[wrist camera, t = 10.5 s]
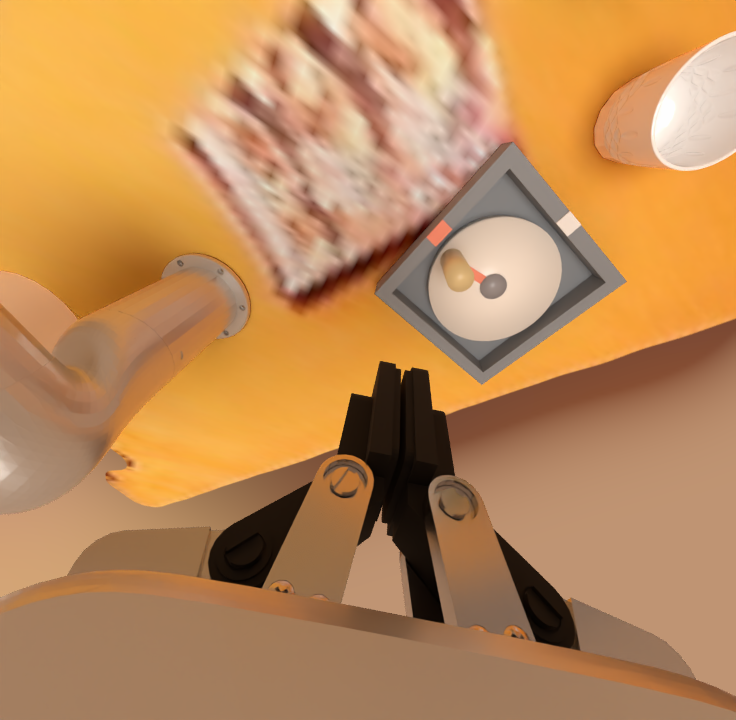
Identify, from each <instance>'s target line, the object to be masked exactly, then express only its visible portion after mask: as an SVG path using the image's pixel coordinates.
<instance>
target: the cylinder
mask: <svg viewBox="0 0 736 720" xmlns="http://www.w3.org/2000/svg"><path fill="white" fill-rule="evenodd" d="M0 303H1V304H2V305H3V306H4V307H5V308H6V309H7V310H8V311H9V312H10V313H11V314H12V315H13V316H14V317H15V318H16V319H17V320H18V321H19V322H20V323H21V324H22V325H23V326H24V327H25V328H26V329H27V330H28V331H29V332H30V333H31V334H32V335H33V336H34V337H35V338H36V339H37V340H38V341H39V342H40V343H41V344H42V345H43V346H44V348H45V349H46V350H47V351H48V352H49V353H50V354H51V353H52V351H53V348H54V347H55V345H56V343H57V341H58V339H59V338H60V336H61V335H62V334H63V333H64V332H65V331H66V329H67V328H68V327H69V326H71V325H72V324H73V323H74V322H76V321H77V318H76V316H75V315H74V314H73V313H72V312H71V310H70V309H69V308H68V307H67V306H66V305H65V304H64V302H62V301H61V300H60V299H59V298H58V297H56V296H55V295H54V294H53V293H52V292H51V291H49V290H48V289H46V288H45V287H43V286H41V285H40V284H38V283H37V282H35V281H33V280H31V279H28V278H26V277H24V276H22V275H19V274H16V273H11V272H6V271H0Z"/></svg>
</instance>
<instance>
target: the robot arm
mask: <svg viewBox="0 0 736 720" xmlns="http://www.w3.org/2000/svg"><path fill="white" fill-rule="evenodd" d="M250 309H251V308H250V300H249V296H248V293H247V290H246V288H245V286H244V284H243V283H242V281H241V280H240V278H239V277H238V276H237V275H236V274H235V273H234V272H233V271H232V270H231V269H230V268H229V267H228V266H226V265H225V264H224V263H222V262H220V261H219V260H217V259H215V258H212V257H210V256H207V255H203V254H186V255H182V256H179V257H177V258H175V259H173V260H172V261H171V262H169V263H168V265H167V266H166V267H165V269H164V271H163V273H162V277H161V280H159V281H157V282H155V283H153V284H151V285H149V286H147V287H145V288H143V289H140V290H138V291H136V292H134V293H132V294H130V295H128V296H126V297H124V298H122V299H120V300H118V301H115V302H113V303H111V304H109V305H107V306H105V307H103V308H101V309H99V310H97V311H95V312H93V313H90V314H88V315H86V316H84V317H82V318H81V319H79V320H77V321H76V322H74V323H73V324H72V325H71V326H69V327H68V328H67V329H66V331H65V332H64V333H63V334H62V335H61V336H60V338H59V339H58V341H57V343H56V345H55V347H54V348H53V351H52V353H51V354H50V353H49V352H48V351H47V350H46V349H45V348H44V346H43V345H42V344H41V343H40V342H39V341H38V340H37V339H36V338H35V337H34V336H33V335H32V334H31V333H30V332H29V331H28V330H27V329H26V328H25V327H24V326H23V325H22V324H21V323H20V322H19V321H18V320H17V319H16V318H15V317H14V316H13V315H12V314H11V313H10V312H9V311H8V310H7V309H6V308H5V307H4V306H3V305H2V304H1V303H0V515H1V514H15V513H22V512H27V511H30V510H34V509H37V508H39V507H42V506H44V505H47V504H49V503H51V502H53V501H55V500H57V499H58V498H60V497H62V496H63V495H65V494H66V493H68V492H69V491H70V490H72V489H73V488H74V487H75V486H77V485H78V484H79V483H80V482H81V481H82V480H83V479H84V478H85V477H86V476H87V475H88V474H89V473H90V472H91V471H92V470H93V469H94V468H95V467H96V466H97V465H98V464H99V462H100V461H101V460H102V458H103V457H104V456H105V455H106V453H107V452H108V451H109V449H110V448H111V446H112V445H113V443H114V442H115V441H116V439H117V438H118V436H119V435H120V434H121V432H122V431H123V430H124V428H125V427H126V426H127V424H128V423H129V422H130V421H131V419H132V418H133V417H134V416H135V415H136V414H137V413H138V412H139V410H140V409H141V408H142V407H143V406H144V405H145V404H146V403H147V402H148V401H149V400H150V399H151V398H152V397H153V396H154V395H155V394H156V393H157V392H158V391H160V390H161V389H162V388H163V387H164V386H165V385H166V384H167V383H168V382H169V381H170V380H171V379H173V378H174V377H175V376H176V375H177V374H178V373H179V372H180V371H181V370H182V369H183V368H184V367H185V366H187V365H188V364H189V363H190V362H191V361H192V360H193V359H194V358H195V357H196V356H197V355H198V354H199V353H201V352H202V351H203V350H204V349H205V348H206V347H207V346H208V345H209V344H210V343H211V342H212V341H213V340H215V339H222V338H228V337H231V336H233V335H235V334H237V333H238V332H239V331H240V330H241V329H242V328H243V327H244V326H245V325H246V323H247V321H248V319H249V316H250ZM381 508H382V523H387V524H388V526H387V535H389V536H393V539H392V541H393V542H394V543H395V545H396V546H397V547H398V549H399V550H400V568H401V577H402V585H403V594H404V601H405V610H406V616H402V615H397V614H392V613H386V612H381V611H376V610H371V609H366V608H361V607H356V606H350V605H345V604H341V602H342V598H343V594H344V590H345V587H346V584H347V580H348V576H349V572H350V569H351V565H352V562H353V558H354V555H355V551H356V547H357V546H358V545H359V544H361V543H362V542H363V541H365V540H366V539H367V538H369V537H370V535H371V533H372V529H373V527H374V524H375V521H377V519H378V517H379V514H380V511H381ZM0 720H736V696H734V695H732V694H730V693H728V692H725V691H723V690H721V689H719V688H717V687H714V686H712V685H709V684H706V683H704V682H701V681H699V680H696V678H695V677H694V675H693V673H692V671H691V669H690V668H689V666H688V665H687V664H686V662H685V661H684V660H683V659H682V657H681V656H680V655H679V654H678V653H677V652H676V651H675V650H674V649H673V648H672V647H671V646H670V645H669V644H668V643H667V642H665V641H663V640H662V639H660V638H658V637H657V636H655V635H654V634H652V633H649V632H647V631H644V630H642V629H640V628H638V627H636V626H633V625H631V624H629V623H627V622H624V621H622V620H620V619H617V618H616V617H613V616H611V615H609V614H607V613H604V612H602V611H600V610H598V609H595V608H593V607H591V606H589V605H586V604H584V603H582V602H580V601H577V600H575V599H573V598H570V599H568V600H565V599H563V598H562V597H561V596H560V595H559V593H558V592H557V591H556V590H555V589H554V588H553V587H552V586H551V585H550V584H549V583H548V582H547V581H546V580H545V579H544V578H543V577H542V576H541V575H540V574H539V573H538V572H537V571H536V570H535V569H534V568H533V567H532V566H531V565H530V564H529V563H528V562H527V561H526V560H525V559H524V558H523V557H522V556H521V555H520V554H519V553H518V552H517V551H515V549H513V548H512V547H511V546H510V545H509V544H508V543H507V542H506V541H505V540H504V539H503V538H502V537H501V536H500V535H499V534H498V533H497V532H496V531H495V530H494V529H493V526H492V524H491V521H490V518H489V516H488V513H487V511H486V508H485V505H484V503H483V501H482V498H481V497H480V495H479V493H478V492H477V491H476V489H475V488H474V487H473V486H472V485H470V484H469V483H468V482H466V481H465V480H463V479H461V478H458V477H456V476H455V473H454V466H453V461H452V454H451V448H450V441H449V435H448V429H447V423H446V416H445V413H444V412H442V411H437V410H432V401H431V392H430V383H429V373H428V371H427V370H423V369H418V368H413V367H412V368H411V371H407V370H405V372H404V375H403V379H402V382H401V369H397V368H396V364H393V363H388V362H383V361H380V364H379V368H378V372H377V376H376V381H375V385H374V389H373V393H372V397H368V396H363V395H358V394H353V393H352V394H351V398H350V402H349V407H348V411H347V415H346V420H345V424H344V428H343V432H342V437H341V441H340V445H339V450H338V454H337V455H336V456H333V457H330V458H329V459H327V460H326V461H325V462H324V463H323V464H322V465H321V466H320V468H319V469H318V472H317V474H316V476H315V478H314V480H313V481H312V482H310V483H308V484H307V485H305V486H303V487H301V488H299V489H297V490H295V491H293V492H292V493H290V494H288V495H286V496H284V497H282V498H281V499H279V500H277V501H275V502H273V503H271V504H269V505H268V506H266V507H264V508H262V509H260V510H258V511H257V512H255V513H253V514H251V515H250V516H247V517H245V518H244V519H242V520H240V521H238V522H236V523H234V524H233V525H231V526H230V527H228V528H227V529H226V530H211V528H210V527H191V528H169V529H147V530H126V531H120V532H115V533H110V534H108V535H106V536H104V537H102V538H100V539H98V540H96V541H95V542H94V543H93V544H91V545H90V546H89V547H88V548H86V549H85V550H84V551H83V552H82V554H81V555H80V556H79V557H78V559H77V560H76V561H75V563H74V564H73V566H72V568H71V570H70V571H69V573H68V575H67V576H64V577H60V578H57V579H53V580H49V581H45V582H41V583H38V584H35V585H32V586H29V587H26V588H23V589H20V590H17V591H14V592H12V593H10V594H8V595H5V596H3V597H0Z"/></svg>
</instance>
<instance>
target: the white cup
mask: <svg viewBox="0 0 736 720" xmlns="http://www.w3.org/2000/svg"><path fill="white" fill-rule="evenodd" d="M594 141H595V147H596V148H597V150H598V151H599V153H600V154H601V156H602V157H603V158H605V159H608V160H611V161H614V162H618V163H624V164H629V165H636V166H643V167H651V168H661V169H671V170H680V171H691V170H698V169H702V168H705V167H708V166H711V165H713V164H716V163H718V162H720V161H722V160H724V159H725V158H727V157H729V156H730V155H732V154H733V153H735V152H736V31H734V32H731V33H728V34H726V35H724V36H722V37H719V38H717V39H715V40H713V41H711V42H709V43H706V44H704V45H702V46H700V47H698V48H696V49H693V50H691V51H689V52H687V53H684V54H682V55H680V56H678V57H676V58H674V59H671V60H669V61H667V62H665V63H663V64H662V65H659V66H657V67H655V68H653V69H651V70H650V71H648V72H646V73H644V74H643V75H640V76H638V77H636V78H634V79H632V80H631V81H629V82H628V83H626V84H625V85H623V86H622V87H621V88H619V89H618V90H616V91H615V92H614V93H613V94H612V96H611V97H610V98H609V100H608V101H607V102H606V104H605V105H604V106H603V108H602V109H601V111H600V113H599V116H598V119H597V122H596V125H595V127H594Z"/></svg>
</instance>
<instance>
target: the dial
mask: <svg viewBox="0 0 736 720" xmlns="http://www.w3.org/2000/svg"><path fill="white" fill-rule="evenodd" d="M561 274H562V262H561V257H560V253H559V251H558V248H557V246H556V244H555V242H554V241H553V239H552V238H551V237H550V236H549V234H548V233H547V232H545V231H544V230H543V229H542V228H541V227H539V226H537V225H535V224H534V223H532V222H530V221H527V220H525V219H522V218H520V217H515V216H510V215H494V216H488V217H484V218H481V219H478V220H475V221H473V222H471V223H469V224H466V225H465V226H463V227H462V228H460V229H459V230H457V231H456V232H455V233H454V234H452V235H451V236H450V237H449V238H448V239H447V240H446V241H445V242H444V244H443V245H442V246H441V248H440V249H439V251H438V252H437V254H436V256H435V258H434V260H433V262H432V265H431V268H430V272H429V277H428V292H429V298H430V303H431V306H432V309H433V311H434V314H435V315H436V317H437V319H438V320H439V321H440V322H441V324H442V325H443V326H444V327H446V328H447V329H448V330H449V331H451V332H452V333H454V334H456V335H458V336H460V337H463V338H466V339H469V340H475V341H493V340H499V339H503V338H507V337H509V336H512V335H515V334H517V333H519V332H521V331H522V330H524V329H526V328H527V327H529V326H530V325H532V324H533V323H534V322H535V321H536V320H538V319H539V318H540V317H541V316H542V315H543V313H544V312H545V311H546V310H547V309H548V307H549V306H550V304H551V303H552V301H553V299H554V298H555V296H556V293H557V291H558V288H559V285H560V281H561Z"/></svg>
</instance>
